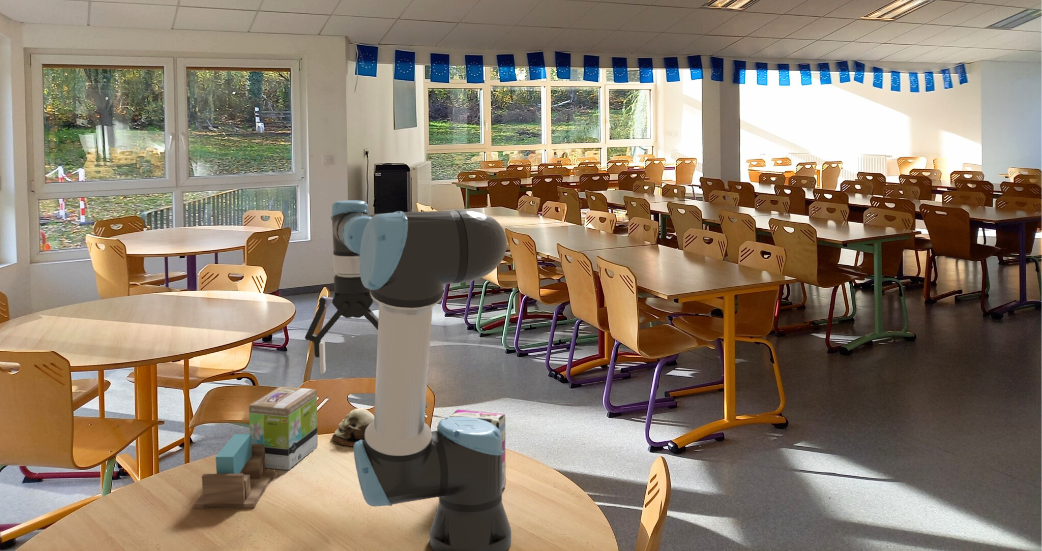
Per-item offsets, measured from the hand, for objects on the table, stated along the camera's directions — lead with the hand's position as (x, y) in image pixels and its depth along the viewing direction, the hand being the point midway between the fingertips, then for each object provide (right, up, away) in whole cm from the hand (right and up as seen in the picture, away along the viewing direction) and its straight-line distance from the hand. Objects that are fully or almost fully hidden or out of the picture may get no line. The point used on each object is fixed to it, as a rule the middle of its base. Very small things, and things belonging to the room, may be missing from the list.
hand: (355, 371), depth 184 cm
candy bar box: (+27, -25, -1) cm, 36 cm away
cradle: (-24, -25, -4) cm, 35 cm away
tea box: (-19, -22, +15) cm, 33 cm away
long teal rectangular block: (-24, -20, -4) cm, 32 cm away
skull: (-5, -20, +27) cm, 34 cm away
